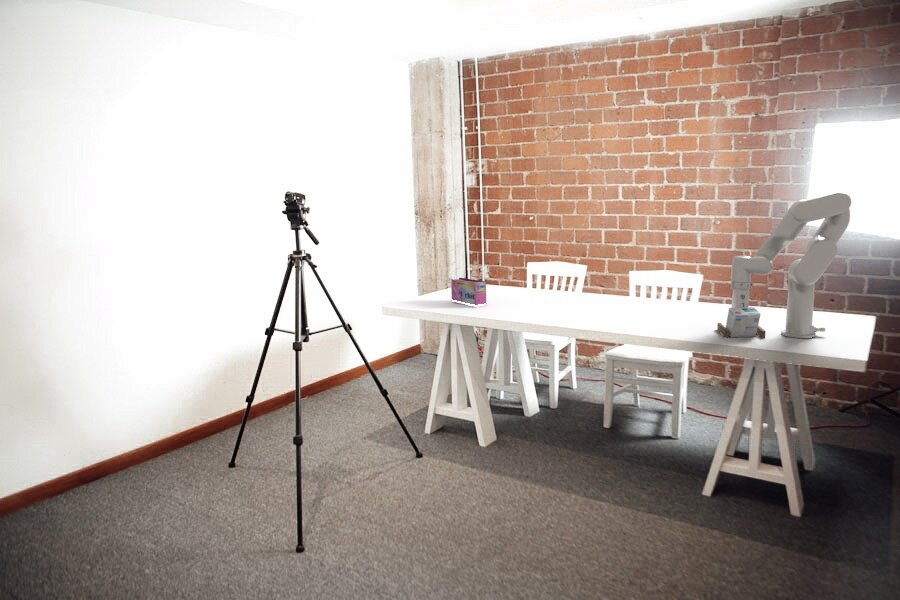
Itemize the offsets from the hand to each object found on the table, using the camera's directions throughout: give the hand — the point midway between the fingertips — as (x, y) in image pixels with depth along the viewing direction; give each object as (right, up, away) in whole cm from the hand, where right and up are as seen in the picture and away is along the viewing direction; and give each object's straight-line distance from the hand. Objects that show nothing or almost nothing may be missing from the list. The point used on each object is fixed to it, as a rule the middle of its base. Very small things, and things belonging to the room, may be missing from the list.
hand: (737, 327), depth 272 cm
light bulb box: (-1, -2, -4) cm, 5 cm away
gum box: (-112, +9, +86) cm, 141 cm away
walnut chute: (0, -2, -2) cm, 3 cm away
